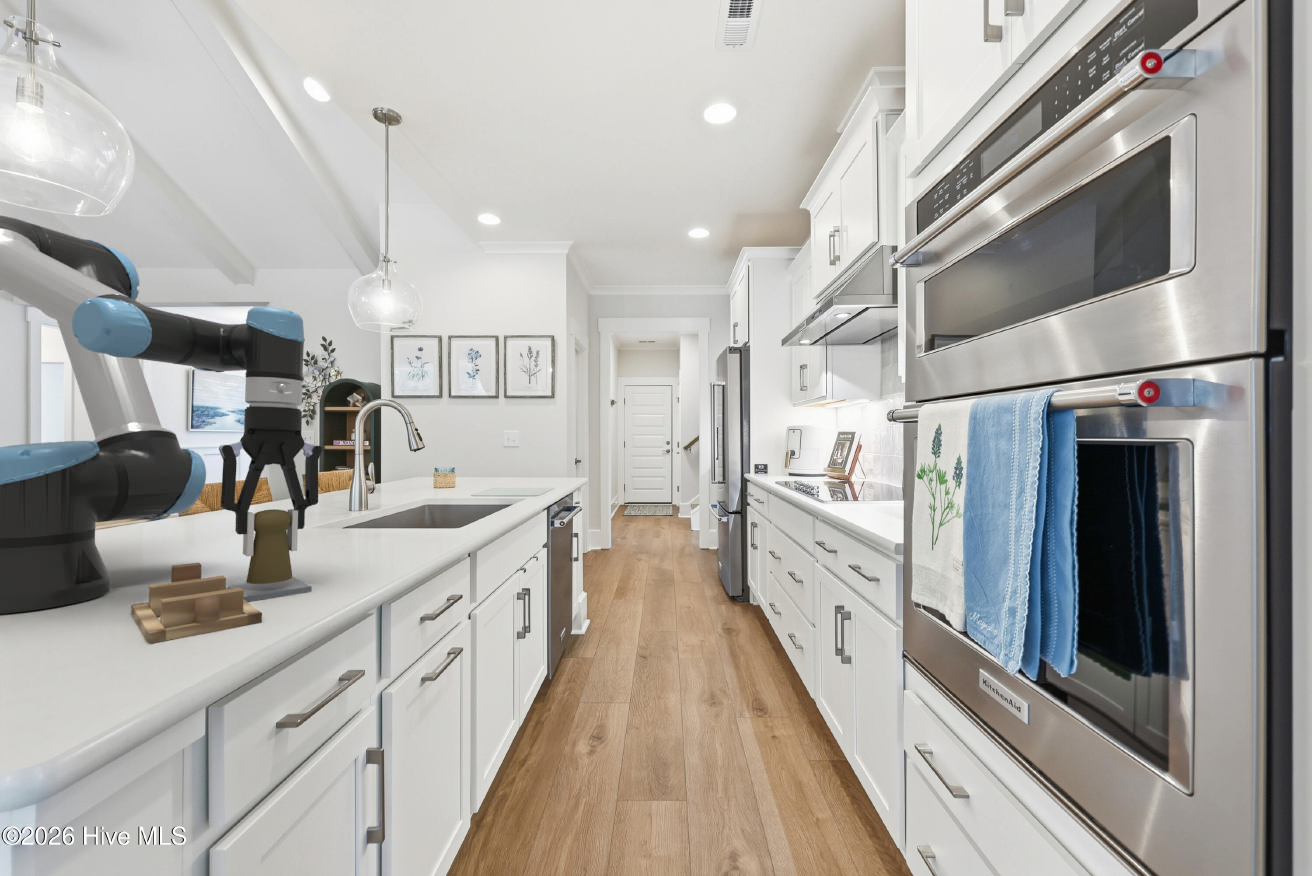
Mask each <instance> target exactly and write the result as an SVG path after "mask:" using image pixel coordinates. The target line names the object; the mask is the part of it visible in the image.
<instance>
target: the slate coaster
mask: <svg viewBox="0 0 1312 876" xmlns="http://www.w3.org/2000/svg"><path fill="white" fill-rule="evenodd" d="M234 588H241V589H243V590H244V600H245V601H247V602H248V603H249V602H255V601H262V600H267V598H268V599H272V598H271V597H274V598H278V597H284V596H290V594H292V595H296V594H303V592H304V593H308V591H310V592H312V585H310V584H308V583H306V582H304V581H303V580H301V579H299V578H297V577H295V576H292V578H291V579H289V580H286V581H281V582H276V583H268V584H250V583H243V584H234V585H229V586H227V590H228V589H234ZM261 599H262V600H261Z"/></svg>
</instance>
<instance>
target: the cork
mask: <svg viewBox="0 0 1312 876" xmlns="http://www.w3.org/2000/svg"><path fill="white" fill-rule="evenodd" d="M290 523H291V517H290V514H289V513H288V510H283V509H274V508H272V509H265V510H264V509H263V510H260V511H257V512H255V513H254V547H253V556H250V559H249V566H248V570H247V577H246V584H249V583H250V584H268V583H276V582H281V581H286V580H289V579H291V578H292V577H293V570H292V565H291V564H292V563H291V556H290V550H289V546H288V539H287V529H288V527H289V526H290Z"/></svg>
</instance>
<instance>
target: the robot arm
mask: <svg viewBox="0 0 1312 876" xmlns="http://www.w3.org/2000/svg"><path fill="white" fill-rule="evenodd" d="M139 277H140V276H139V273H138V271H137V269H136V267H135V265H134V263H133V262H132V261H131V259H130V258H129V257H128V256H127V255H126V254H124V253H123V252H121V251H119V250H117V249H116V248H113V247H110V246H108V245H105V244H103V243H101V242H99V241H96V240H92V239H84V238H80V237H76V236H73V235H70V234H67V233H64V232H60V231H57V230H55V229H50V228H48V227H45V226H40V225H37V224H35V223H34V224H33V223H30V222H28V221H25V220H22V219H18V218H15V217H12V216H6V215H0V291H1V290H2V291H4V292H6V293H8V294H10V295H12V296H13V297H16V298H17V299H19V300H20V301H23V302H25V304H29V305H31V307H34V308H35V309H37V310H39V311H41V312H42V313H43V314H44V315H45V316H47V317H49V318H51V319H54V320H55V321H57V324H58V328H59V332H60V334H61V337H62V339H63V343H64V347H65V350H66V352H67V355H68V358H69V361H70V365H71V367H72V370H73V373H74V376H75V380H76V383H77V386H78V389H79V392H80V395H81V399H82V401H83V404H84V407H85V410H86V414H87V416H88V418H89V419H88V420H89V423H90V425H91V429H92V431H93V434H94V438H95V439H94V440H68V441H67V440H66V441H55V442H53V441H49V442H47V441H46V442H37V443H23V444H14V445H6V446H0V615H1V614H12V613H23V612H31V611H38V610H44V609H50V608H57V607H62V606H66V605H72V604H77V603H81V602H85V601H89V600H93V599H96V598H99V597H102V596H104V595H106V594H107V593H109V592H110V581H111V578H110V575H109V572H108V570H107V568H106V566H105V563H104V561H103V558H102V556H101V555H100V551H99V550H98V547H97V546H96V523H104V522H114V521H123V520H125V521H126V520H135V519H136V520H137V519H144V518H160V517H161V518H162V517H164V516H168V515H174V514H180V513H182V512H185V511H186V510H189V509H190V508H191V507H192V506H193V505H195V504H196V502H197V501H198V500H199V499H200V497H201V495H202V492H203V490H204V488H205V485H206V480H207V468H206V465H205V461H204V459H203V457H202V456H201V455H200V454H199V453H198V452H195V450H193V449H189V448H182V447H181V446H180V442H179V439H178V437H177V433H175V432H174V431H172V430H170V429H167V428H164V427H162V425H161V422H160V421H161V420H160V418H159V415H158V412H157V409H156V407H155V403H154V401H153V398H152V394H151V392H150V389H149V386H148V383H147V380H146V378H145V374H144V372H143V369H142V366H141V362H140V360H145V361H151V362H158V363H159V362H160V363H167V364H173V365H180V366H186V367H187V366H188V367H192V368H194V369H196V370H197V371H202V372H203V371H204V372H215V373H224V372H233V371H234V372H236V371H237V372H238V371H239V372H240V371H245V390H244V394H245V395H244V399H245V400H244V402H245V403H246V404H249V405H248V406H246V408H244V425H243V430H244V431H243V436H242V437H241V438H240V440H239V441H238V442H235V443H234V442H233V443H230V444H222V445H220V446H219V447H218V451H219V453H220V456H221V458H222V461H223V462H222V474H221V475H222V477H221V478H222V479H221V496H220V507H221V508H222V509H224V510H225V511H229V512H234V514H235V527H234V528H235V533H236V534H237V535H243V536H242V537H243V540H242V541H243V542H242V555H243V556H246V557H251V556H253V547H254V537H255V531H254V514H255V513H254V512H251V511H249V510H250V507H251V504H252V501H253V499H254V496H255V492H256V490H257V487H258V483H259V481H260V479H261V476H262V473H263V471H264V469H265V466H270V465H273V464H274V465H279V467H280V468H281V470H282V472H283V477H284V479H285V483H286V486H287V490H288V494H289V498H290V500H291V504H292V507H293V508H292V509H291V508H290V509H287V512H288V513H289V514H290V517H291V523H290V526H289V527H288V529H287V530H286V531H287V539H288V546H289V552H297V551H298V535H299V534H298V530H303V529H304V528H305V526H306V525H305V521H306V520H305V518H306V510H307V508H308V507H309V508H310V507H311V506H316V505H317V504H318V503H319V458H320V456H321V454H322V452H323V447H322V446H320V445H314V444H310V443H307V442H305V440H304V438H303V435H302V428H303V427H302V422H303V421H302V420H303V411H302V410H301V409H300V408H298V407H299V406H302V405H303V379H304V377H303V372H304V370H303V369H304V349H305V348H304V347H305V346H304V345H305V344H304V343H305V341H306V339H305V333H304V319H303V318H302V316H301V315H300V314H298V313H297V312H295V311H291V310H287V309H284V308H280V307H269V306H255V307H252V308H250V309H249V310H248V311H247V315H246V319H245V322H246V323H237V324H236V323H234V324H229V323H220V322H215V321H211V320H207V319H202V318H198V317H193V316H187V315H184V314H181V313H180V314H179V313H174V312H169V311H165V310H161V309H157V308H154V307H150V306H147V305H145V304H143V303H140V302H138V301H136V300H137V298H138V297H139V296H138V295H139V293H140V290H139V289H138V287H139V286H140V278H139ZM241 450H243V451H244V452H245V453H246V454H247V455H248V456H249V458H250V459H251V460H250V463H249V466H248V471H247V473H246V476H245V480H244V482H243V485H242V487H241V491H240V493H239V496H238V500H237V502H235V500H236V482H237V465H238V462H237V458H239V456H240V454H241ZM301 450H302V451H303V453H302V454H303V456H304V457H305V461H304V467H305V468H304V471H305V472H304V473H305V474H304V487H305V488H304V491H305V493H303V489H302V486H301V483H300V481H299V476H298V472H297V470H296V469H297V468H296V467H297V465H296V462H295V460H294V458H296V456H297V455H298V454H299V453H300V452H301ZM304 494H305V498H304Z"/></svg>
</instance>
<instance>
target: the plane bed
mask: <svg viewBox="0 0 1312 876" xmlns="http://www.w3.org/2000/svg"><path fill="white" fill-rule="evenodd" d="M202 567H203V565H202V564H201V563H200V562H191V563H183V564H175V565H171V570H170V571H171V573H170V582H165V583H157V584H150V585H148V587H149V591H148V601H147V602H141V603H133V604H131V607H130V608H131V612H130V614H131V613H132V614H131V616H132V615H133V616H132V617H133V619H134V618H135V619H134V621H135V620H136V621H135V623H136V622H137V623H136V624H137V626H138V625H139V626H138V628H139V629H141V630H140V631H141V633H142V632H143V633H142V635H143V637H144V636H145V637H144V638H145V640H146V642H147V641H148V642H147V644H148V643H151V644H155V643H161V642H165V641H171V640H170V639H172V640H176V639H177V640H178V639H180V638H186V637H187V638H188V637H192V636H197V635H201V634H202V635H203V634H207V633H212V632H217V631H222V630H227V629H233V628H234V629H235V628H238V627H243V626H249V625H254V624H259V623H262V621H263V612H261V611H260V610H259V609H258V608H256V607H254V605H252V604H251V603H249V602H247V601H245V600H244V590H243V589H241V588H234V589H228V588H227V577H226V576H224V575H217V576H211V577H209V576H207V577H202ZM226 588H227V589H226ZM157 616H160V618H159V617H157ZM159 619H160V620H159Z"/></svg>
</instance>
